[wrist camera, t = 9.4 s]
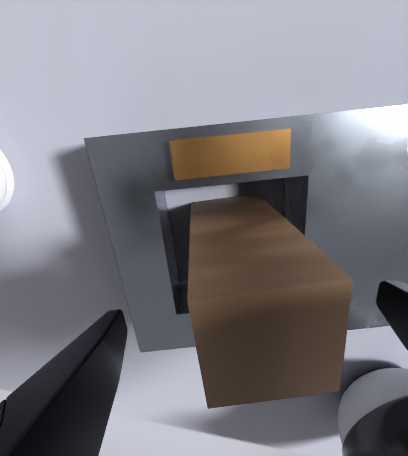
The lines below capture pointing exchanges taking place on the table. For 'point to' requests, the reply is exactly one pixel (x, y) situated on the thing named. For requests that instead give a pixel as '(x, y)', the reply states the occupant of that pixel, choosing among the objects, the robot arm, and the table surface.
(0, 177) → the chess piece
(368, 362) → the table surface
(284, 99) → the table surface
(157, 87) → the table surface
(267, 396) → the walnut peg
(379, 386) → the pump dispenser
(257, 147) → the grey peg hole board
